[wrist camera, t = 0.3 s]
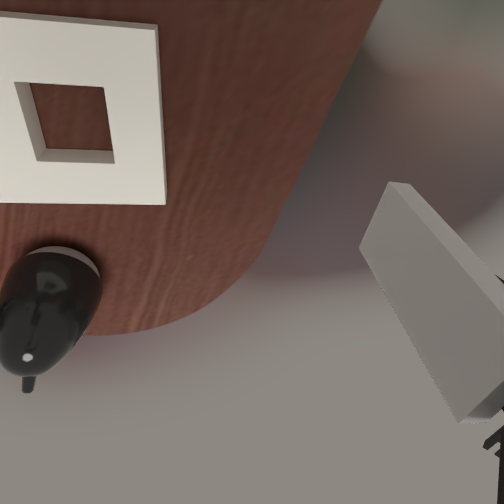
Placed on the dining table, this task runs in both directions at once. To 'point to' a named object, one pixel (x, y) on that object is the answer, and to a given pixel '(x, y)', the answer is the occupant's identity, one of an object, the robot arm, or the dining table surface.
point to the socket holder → (83, 74)
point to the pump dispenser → (45, 310)
